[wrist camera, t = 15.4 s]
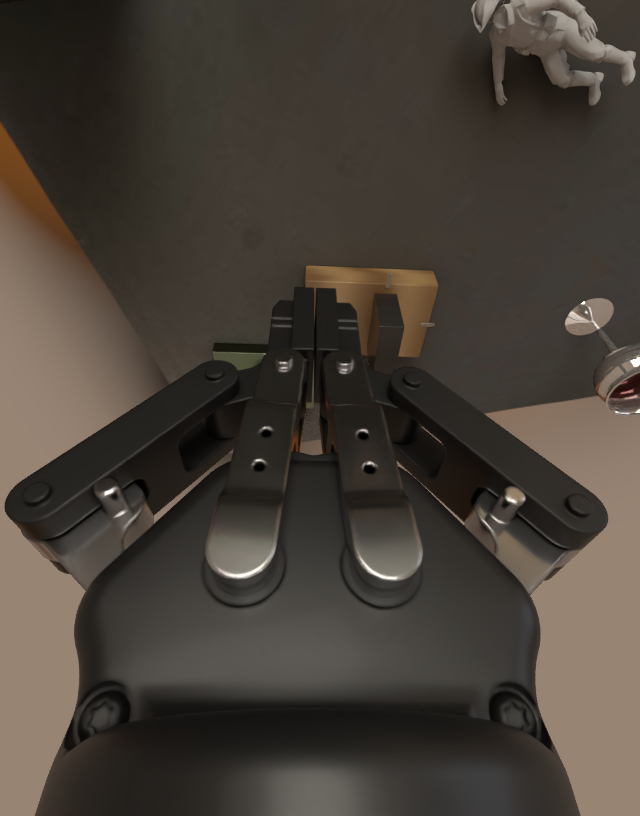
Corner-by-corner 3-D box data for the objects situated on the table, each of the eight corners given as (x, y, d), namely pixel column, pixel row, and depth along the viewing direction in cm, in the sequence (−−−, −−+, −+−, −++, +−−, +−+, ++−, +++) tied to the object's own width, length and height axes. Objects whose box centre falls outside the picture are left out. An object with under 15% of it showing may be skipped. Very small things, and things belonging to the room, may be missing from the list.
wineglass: (581, 285, 46) (639, 359, 37) (637, 296, 47) (706, 371, 38) (544, 336, 50) (589, 412, 42) (595, 345, 51) (649, 421, 43)
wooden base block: (303, 344, 51) (303, 362, 49) (306, 255, 43) (305, 271, 41) (418, 348, 52) (422, 365, 49) (441, 260, 43) (448, 276, 41)
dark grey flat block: (374, 293, 43) (380, 328, 39) (397, 293, 43) (405, 328, 39) (366, 349, 48) (371, 385, 44) (386, 349, 48) (392, 385, 44)
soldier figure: (557, 128, 36) (439, 100, 31) (558, 65, 36) (438, 28, 31) (662, 66, 29) (528, 19, 24) (664, -13, 28) (528, -76, 24)
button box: (223, 396, 57) (219, 416, 55) (214, 342, 51) (209, 362, 48) (313, 399, 58) (313, 419, 55) (316, 346, 51) (316, 365, 49)
